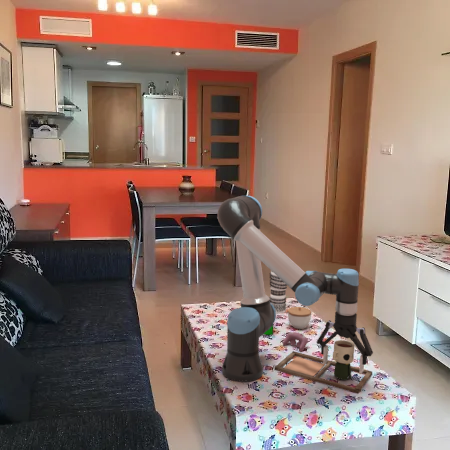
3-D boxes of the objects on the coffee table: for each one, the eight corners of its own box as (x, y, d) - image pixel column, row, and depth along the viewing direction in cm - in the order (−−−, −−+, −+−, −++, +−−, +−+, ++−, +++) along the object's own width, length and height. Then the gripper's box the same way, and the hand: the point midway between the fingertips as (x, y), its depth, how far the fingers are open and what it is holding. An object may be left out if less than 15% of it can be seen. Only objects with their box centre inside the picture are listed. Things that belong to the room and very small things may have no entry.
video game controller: (306, 353, 204) (310, 337, 205) (300, 351, 200) (305, 335, 202) (286, 346, 210) (291, 330, 211) (281, 344, 207) (285, 328, 208)
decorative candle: (266, 307, 254) (268, 260, 249) (284, 307, 255) (285, 260, 250) (270, 313, 245) (271, 265, 240) (288, 313, 246) (290, 264, 241)
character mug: (339, 385, 174) (341, 350, 172) (324, 377, 180) (326, 343, 178) (359, 377, 180) (362, 343, 178) (345, 369, 186) (346, 337, 184)
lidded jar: (308, 322, 234) (309, 303, 232) (312, 330, 224) (313, 311, 222) (285, 322, 234) (286, 303, 232) (289, 330, 223) (290, 311, 222)
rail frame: (358, 393, 169) (358, 390, 169) (274, 369, 185) (274, 367, 185) (372, 374, 183) (372, 371, 183) (293, 353, 200) (293, 351, 199)
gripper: (384, 315, 173) (380, 372, 176) (317, 302, 186) (314, 355, 189) (378, 322, 166) (374, 380, 170) (309, 308, 179) (307, 362, 183)
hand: (342, 367), depth 180 cm, fingers open, 13 cm apart
